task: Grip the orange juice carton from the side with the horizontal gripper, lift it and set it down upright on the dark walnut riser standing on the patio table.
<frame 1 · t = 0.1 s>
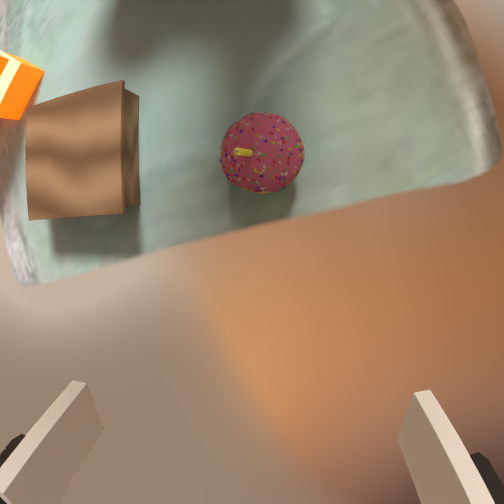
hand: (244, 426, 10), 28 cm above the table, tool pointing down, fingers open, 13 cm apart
orange juice: (21, 88, 34), on the table
cupcake: (263, 155, 35), on the table
walnut riser: (92, 155, 36), on the table
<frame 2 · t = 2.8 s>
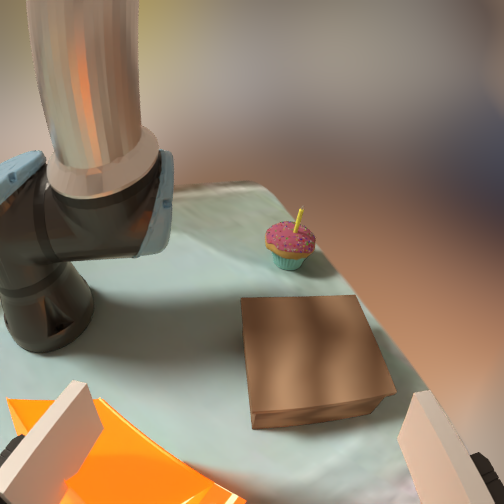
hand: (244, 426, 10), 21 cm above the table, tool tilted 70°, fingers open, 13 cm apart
cupcake: (286, 262, 54), on the table
walnut riser: (303, 373, 36), on the table
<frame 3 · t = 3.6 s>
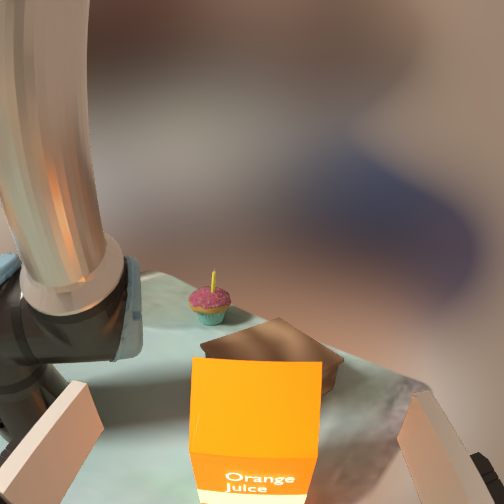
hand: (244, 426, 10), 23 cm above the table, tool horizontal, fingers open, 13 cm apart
orange juice: (253, 503, 25), on the table
cupcake: (210, 320, 63), on the table
walnut riser: (269, 383, 45), on the table
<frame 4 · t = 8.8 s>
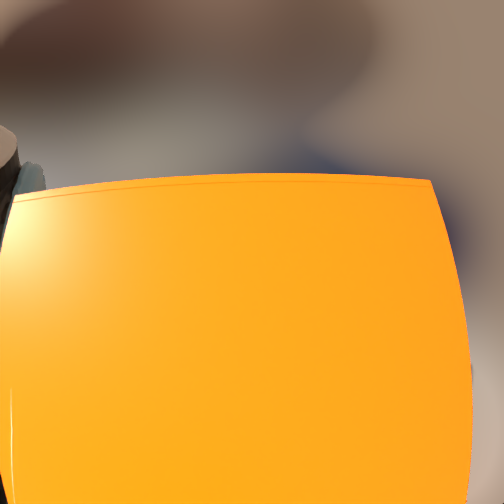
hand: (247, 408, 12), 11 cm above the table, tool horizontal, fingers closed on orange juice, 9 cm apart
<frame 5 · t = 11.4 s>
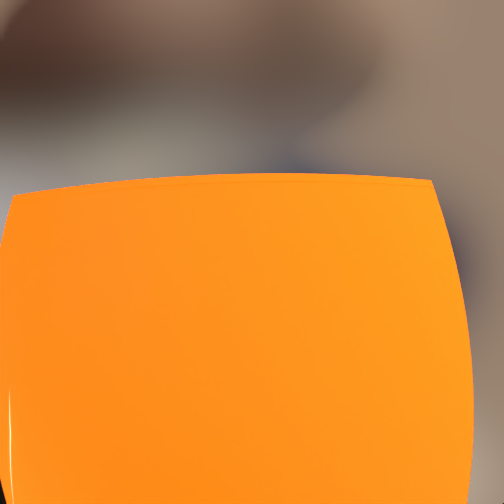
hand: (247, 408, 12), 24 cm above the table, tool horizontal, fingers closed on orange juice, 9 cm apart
when the fingers open (18 cm above the table, at t = 14.0 s): orange juice drops 1 cm, resting on walnut riser.
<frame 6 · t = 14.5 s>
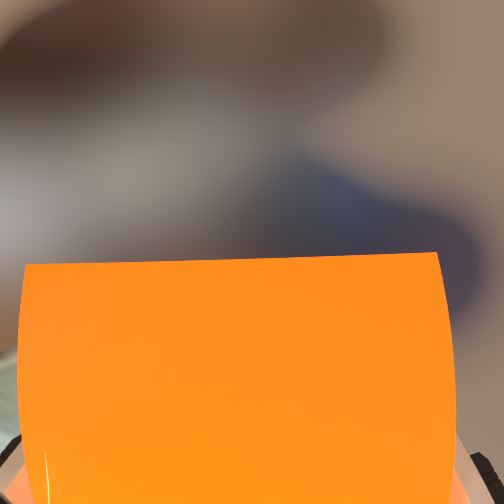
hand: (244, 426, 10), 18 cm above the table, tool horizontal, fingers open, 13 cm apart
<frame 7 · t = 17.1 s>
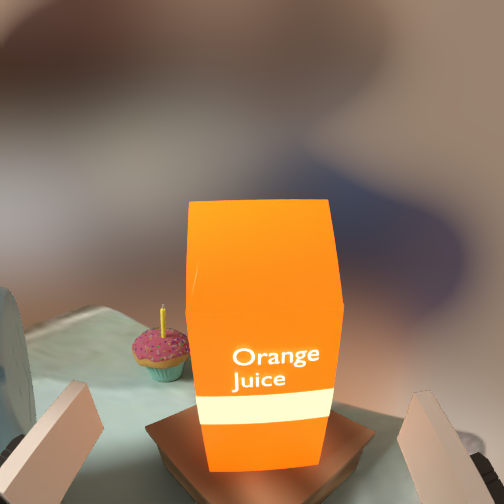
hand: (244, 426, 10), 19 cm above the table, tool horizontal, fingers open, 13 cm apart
orange juice: (261, 440, 24), point 6 cm above the table, touching walnut riser
cupcake: (165, 374, 43), on the table
walnut riser: (258, 473, 25), on the table
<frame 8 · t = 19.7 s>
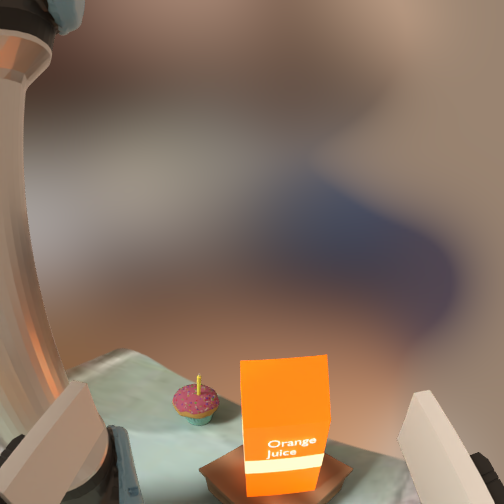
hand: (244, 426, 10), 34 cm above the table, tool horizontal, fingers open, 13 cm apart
orange juice: (277, 474, 34), point 6 cm above the table, touching walnut riser
cupcake: (198, 418, 53), on the table
walnut riser: (275, 493, 35), on the table
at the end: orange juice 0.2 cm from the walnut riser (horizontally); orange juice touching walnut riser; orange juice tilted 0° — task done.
